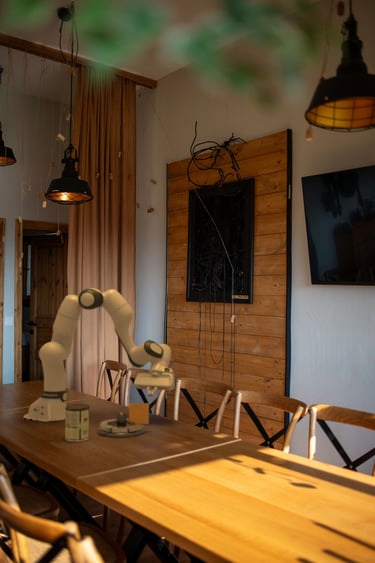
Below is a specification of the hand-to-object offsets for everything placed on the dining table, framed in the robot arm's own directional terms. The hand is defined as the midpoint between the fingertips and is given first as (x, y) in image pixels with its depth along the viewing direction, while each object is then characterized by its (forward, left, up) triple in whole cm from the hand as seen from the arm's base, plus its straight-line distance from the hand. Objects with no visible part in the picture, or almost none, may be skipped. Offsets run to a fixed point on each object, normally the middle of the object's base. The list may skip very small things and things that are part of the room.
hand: (150, 395), depth 261 cm
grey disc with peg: (-8, -16, -14) cm, 23 cm away
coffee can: (-21, -34, -14) cm, 43 cm away
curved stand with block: (-7, -16, -12) cm, 21 cm away
